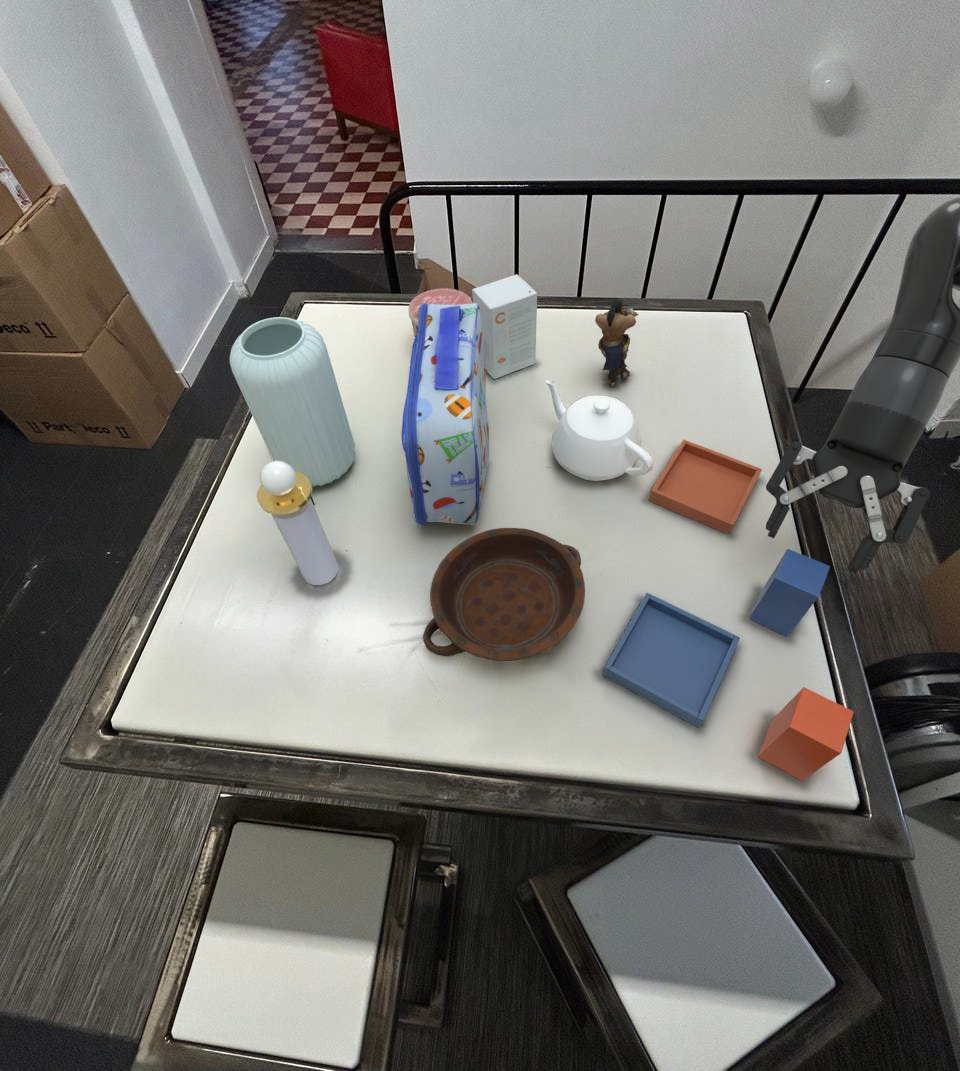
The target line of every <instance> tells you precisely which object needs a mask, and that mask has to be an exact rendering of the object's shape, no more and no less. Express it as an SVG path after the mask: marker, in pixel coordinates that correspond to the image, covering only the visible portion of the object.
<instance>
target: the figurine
mask: <svg viewBox="0 0 960 1071" xmlns="http://www.w3.org/2000/svg"><path fill="white" fill-rule="evenodd" d="M610 305H611V306H610V309H609V310H608V311H606V312H603V313H598V314H597V315H596V316H595V320H594V321H595V324H596V326H598V327H599V329H600V330H601V334H602V337H601V338H600V339H599V341H598V344H597V346H598V349H599V350H600V352H601V354H602V356H603V357H604V358H605V362H604V364H603V368H602V371H608V374H607V380H608V386H609V387H611V388H615V387H617V385H618V384H617V380H618V377H620V379H626V378H629V377H630V371H629V370H628V369H627V368H628V366H627V364H626V360H627V357H628V352H629V346H630V344H631V337H630V334H628V333H626V331H627V330H629V329H630V328H633V327H635V325H636V323H637V320H636V317H638V316H639V313H638V312H637V311H635V309H634V308H633V307H632V308H629V307H627V308H624V307H623V306H624V301H623V299H617V298H616V299H613V301H612V303H611V304H610Z"/></svg>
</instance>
